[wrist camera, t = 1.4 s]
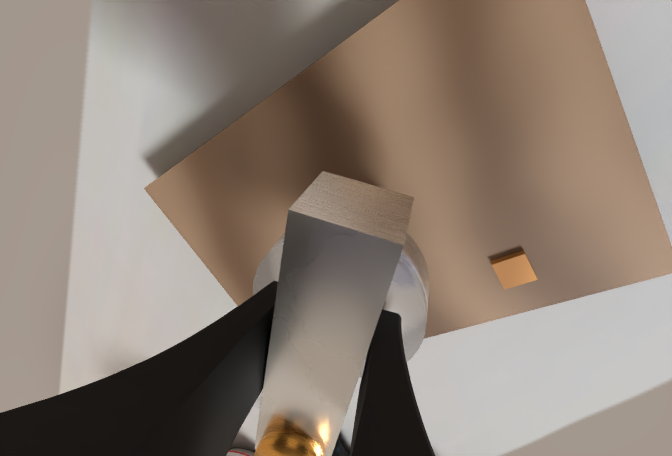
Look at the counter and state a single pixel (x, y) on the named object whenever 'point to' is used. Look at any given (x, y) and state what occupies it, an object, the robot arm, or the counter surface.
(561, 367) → the counter surface
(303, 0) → the counter surface
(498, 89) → the plate
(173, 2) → the counter surface
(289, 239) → the lever with brass knob
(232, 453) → the soda can
